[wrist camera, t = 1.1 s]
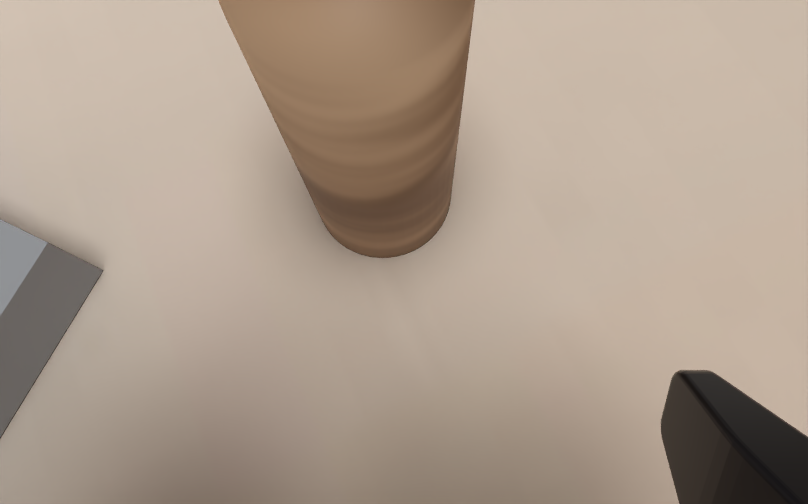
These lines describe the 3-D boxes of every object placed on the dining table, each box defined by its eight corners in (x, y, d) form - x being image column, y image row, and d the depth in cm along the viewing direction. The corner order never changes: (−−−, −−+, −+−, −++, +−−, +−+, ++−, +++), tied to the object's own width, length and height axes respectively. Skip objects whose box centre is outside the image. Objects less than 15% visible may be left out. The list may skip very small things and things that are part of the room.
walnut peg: (415, 279, 22) (409, 119, 11) (293, 224, 23) (164, 17, 12) (472, 162, 24) (519, -94, 12) (353, 113, 24) (292, -175, 13)
